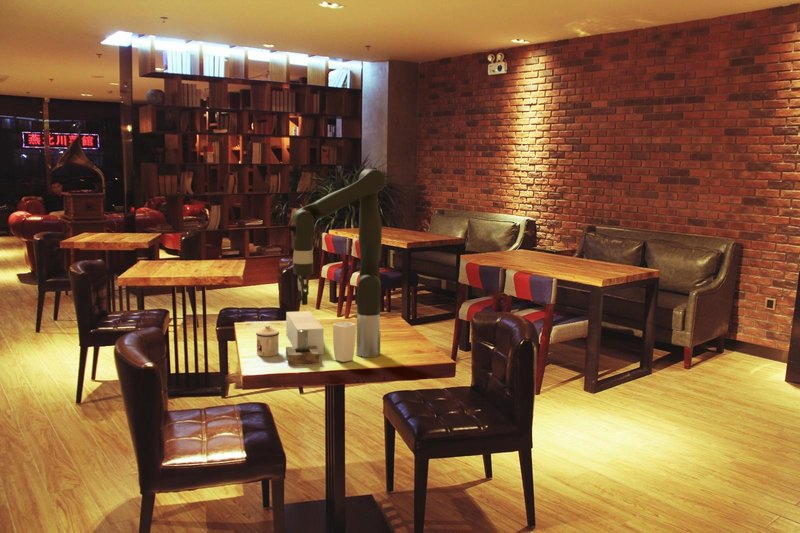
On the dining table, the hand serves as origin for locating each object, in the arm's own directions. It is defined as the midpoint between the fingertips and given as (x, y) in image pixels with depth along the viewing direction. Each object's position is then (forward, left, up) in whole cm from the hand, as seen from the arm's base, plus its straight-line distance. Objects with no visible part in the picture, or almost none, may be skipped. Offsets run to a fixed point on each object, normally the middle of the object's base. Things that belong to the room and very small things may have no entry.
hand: (303, 302), depth 273 cm
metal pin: (0, +1, -23) cm, 23 cm away
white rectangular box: (-3, -23, -24) cm, 33 cm away
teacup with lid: (+13, -9, -23) cm, 28 cm away
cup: (-16, +4, -23) cm, 28 cm away
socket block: (0, +1, -23) cm, 23 cm away
